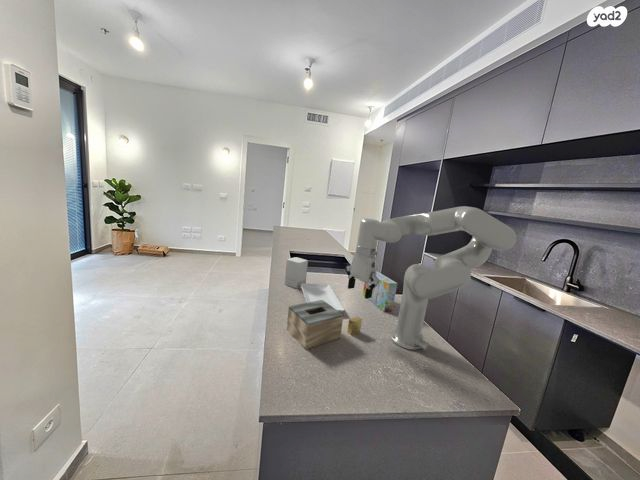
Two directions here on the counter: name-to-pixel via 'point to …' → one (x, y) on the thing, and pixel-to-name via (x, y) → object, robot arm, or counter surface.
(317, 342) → the box
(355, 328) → the block
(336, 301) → the tray
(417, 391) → the counter surface
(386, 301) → the snack box
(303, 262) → the supplement box
